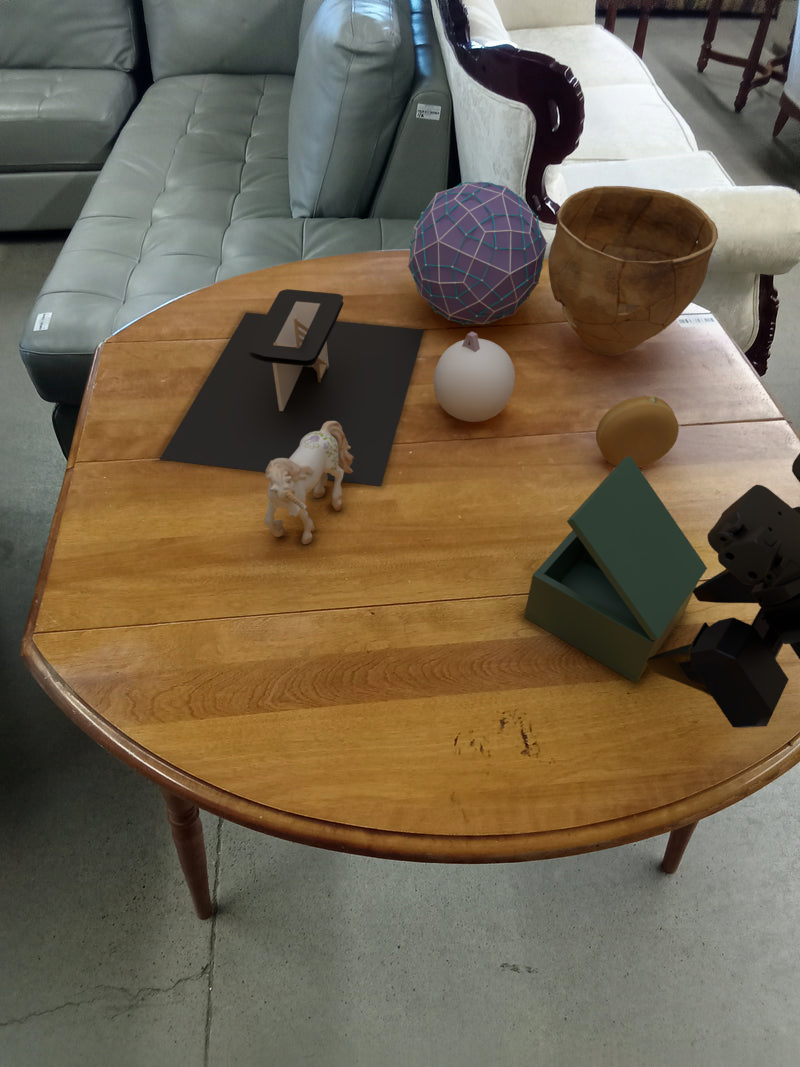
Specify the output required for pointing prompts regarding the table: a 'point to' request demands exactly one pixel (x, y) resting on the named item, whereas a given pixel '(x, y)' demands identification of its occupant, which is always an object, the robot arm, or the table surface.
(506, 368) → the ornament
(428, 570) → the table surface
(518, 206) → the decorative sphere
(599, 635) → the chest
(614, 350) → the bowl
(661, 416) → the doughnut
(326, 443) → the unicorn figurine
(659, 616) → the lid
